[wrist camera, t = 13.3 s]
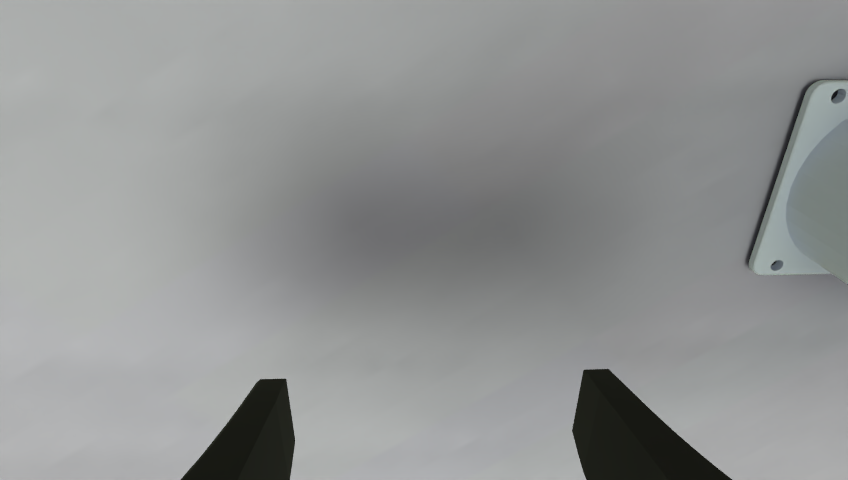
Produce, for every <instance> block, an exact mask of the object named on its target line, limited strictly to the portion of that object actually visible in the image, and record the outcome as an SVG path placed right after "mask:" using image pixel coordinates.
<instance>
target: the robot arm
mask: <svg viewBox="0 0 848 480" xmlns="http://www.w3.org/2000/svg"><path fill="white" fill-rule="evenodd" d="M836 90H838V94H837V96H836V97H835V98H834V99H833V100H831V96H832V95H833V93H834V92H835V91H836ZM775 261H777V262H776V263H775V264H774V265H772V263H773V262H775ZM771 265H772V266H771ZM749 268H750V269H751V270H752V271H753V272H754V273H755V274H757V275H803V274H833V275H834V276H836V277H837V278H839V279H840V280H842V281H843V282H844V283H846V284H847V285H848V80H821V81H817V82H815V83H814V84H812V85H811V86H810V87H809V88H808V90H807V92H806V93H805V96H804V99H803V102H802V105H801V108H800V111H799V114H798V117H797V120H796V123H795V126H794V129H793V132H792V135H791V138H790V141H789V144H788V147H787V150H786V153H785V156H784V159H783V162H782V165H781V168H780V171H779V174H778V177H777V180H776V183H775V186H774V189H773V192H772V195H771V198H770V201H769V204H768V207H767V210H766V213H765V215H764V218H763V221H762V224H761V227H760V230H759V233H758V236H757V239H756V242H755V245H754V248H753V251H752V254H751V257H750V260H749ZM572 432H573V435H574V439H575V443H576V447H577V451H578V455H579V458H580V462H581V465H582V468H583V472H584V474H585V477H586V479H587V480H732V479H731V478H729V477H728V476H727V475H725V474H724V473H723V472H722V471H720V470H719V469H718V468H716V467H715V466H714V465H713V464H712V463H710V462H709V461H708V460H707V459H706V458H704V457H703V456H702V455H701V454H700V453H698V452H697V451H696V450H695V449H693V448H692V447H691V446H690V445H689V444H688V443H687V442H685V441H684V440H683V439H682V438H681V437H680V436H679V435H677V434H676V433H675V432H674V431H673V430H672V429H671V428H670V427H669V426H667V425H666V424H665V423H664V422H663V421H662V420H661V419H660V418H659V417H658V416H657V415H656V414H654V413H653V412H652V411H651V410H650V409H649V408H648V407H647V406H646V405H645V404H644V403H643V402H642V401H641V400H640V399H639V398H638V397H637V396H636V395H635V394H634V393H633V392H632V391H631V390H629V389H628V388H627V387H626V386H625V385H624V384H623V383H622V382H621V381H620V380H619V379H618V378H617V377H616V376H615V375H614V374H613V373H612V372H611V371H610V370H609V369H595V370H584V371H583V376H582V382H581V387H580V392H579V397H578V403H577V408H576V413H575V419H574V424H573V429H572ZM294 445H295V436H294V430H293V423H292V416H291V409H290V402H289V396H288V389H287V382H286V379H260V380H259V381H258V382H257V383H256V384H255V386H254V387H253V388H252V390H251V391H250V393H249V394H248V396H247V397H246V398H245V400H244V401H243V403H242V404H241V405H240V407H239V408H238V410H237V411H236V412H235V414H234V415H233V416H232V418H231V419H230V420H229V422H228V423H227V424H226V426H225V427H224V428H223V429H222V431H221V432H220V433H219V434H218V436H217V437H216V438H215V440H214V441H213V442H212V443H211V445H210V446H209V447H208V448H207V450H206V451H205V452H204V453H203V455H202V456H201V457H200V458H199V459H198V460H197V462H196V463H195V464H194V465H193V466H192V467H191V468H190V470H189V471H188V472H187V473H186V474H185V475H184V476H183V478H182V479H181V480H290V474H291V467H292V460H293V453H294Z"/></svg>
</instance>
